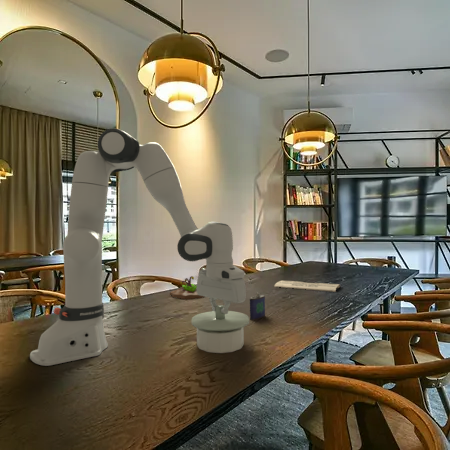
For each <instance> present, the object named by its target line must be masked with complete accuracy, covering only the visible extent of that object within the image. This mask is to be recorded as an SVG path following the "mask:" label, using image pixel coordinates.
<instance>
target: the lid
mask: <svg viewBox="0 0 450 450" xmlns="http://www.w3.org/2000/svg"><path fill="white" fill-rule="evenodd" d="M224 305H225V304H224ZM224 305H223V304H217V306H215V312H214V311H212V310H211V311H206V312H201V313H198V314H195V315H193V316H192V318H191V325H192V326H193V327H194V328H196V329H197V328H199V329H203V330H209V331H227V330H234V329H239V328H242V327H244V328H245V327H246V326H248V325H249V323H250V316H248V315H247V314H246V313H242V312H239V311H233V310H228V314H222V313H221V308H223V307H224Z"/></svg>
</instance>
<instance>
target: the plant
mask: <svg viewBox="0 0 450 450" xmlns="http://www.w3.org/2000/svg"><path fill="white" fill-rule="evenodd" d="M194 279H195V277H194V276H193V275H191V276H190V277H189V278H188V277H186V278H184V280H182V281H180V285H181V287H179V288H177V289H176V290H172V291H170V292H169V296H170V295H172V296H171V297H172V298H173V297H177V298H176V299H180V298H181V300H195V298H197V299H203V298H205V296H200V295H198V294H197V284H195V283H192V280H194ZM183 283H185V284H183ZM202 297H203V298H202Z"/></svg>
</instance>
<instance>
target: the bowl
mask: <svg viewBox="0 0 450 450" xmlns="http://www.w3.org/2000/svg"><path fill="white" fill-rule="evenodd" d="M244 328H245V326H244V327H242V328H239V329H234V330H227V331H209V330H203V329H199V328H196V346H197V348H198V349H199V350H201V351H204V352H207V353H214V354H215V353H216V354H225V353H233V352H235V351H238V350H241V349H242V348H243V346H244V343H245V339H244V338H245V336H244V332H245V331H244V330H245V329H244ZM218 332H222V333H218Z"/></svg>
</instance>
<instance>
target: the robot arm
mask: <svg viewBox="0 0 450 450" xmlns="http://www.w3.org/2000/svg"><path fill="white" fill-rule="evenodd" d="M97 149H98V150H86V151H83V152H81V153H80V154H79V155H78V157H77V160H76V163H75V165H74V169H73V174H72V178H71V179H72V180H71V187H70V188H71V189H70V196H69V197H70V198H69V205H68V224H67V226H68V227H67V232H66V233H67V235H66V237H65V238H64V240H63V243H62V244H63V246H62V248H63V249H62V250H63V251H62V252H63V254H62V255H63V266H64V267H63V270H64V283H65V284H64V289H65V290H64V291H65V292H64V293H65V295H64V296H65V298H64V300H65V305H64V306H63V307H62V308H60V307H55V308H54V309H53V313H54V315H56V316H57V315H58V316H59V317H58V320H57V321H55V322H54V323H53V324H52V325H50V327H48V328H47V329H46V330H45V331H44V332H42V333H41V335H40V337H39V340H38V347H37V349H35V350H34V349H33V350H32V351H31V352H30V354H29V360H30V361H32V362H33V363H34V364H36V365H40V366H45V367H47V366H48V367H50V366H53V365H58V364H62V363H63V364H64V363H67V362H71V361H72V362H74V361H78V360H81V359H88V358H91V357H97V356H100V355H101V354H102V352H103V351H104V350H106V349H107V347H108V346H109V344H108V341H107V337H106V333H105V327H104V317H105V316H104V315H105V308H104V307H105V306H104V302H103V245H102V244H103V237H104V236H103V235H104V227H105V225H104V224H105V218H106V211H107V210H106V209H107V199H108V193H109V183H110V176H111V174H112V173H118V172H124V171H130V170H132V169H134V168H135V169H137V171H138V172H139V174H140V176H141V178H142V180H143V183H144V184H145V187H146V189H147V190H148V192H149V193H150V195H151V196H152V197H153V199H154V200H155V201H156V202H157V203H158V204H159V205H161V207H163V208H164V209H165V210H166V211H167V212H168V213H169V215H170V216H171V218H172V221H173V223H174V224H175V226H176V229H177V231H178V233H179V234H180V238H179V240H178V242H177V248H176V249H177V252H178V255H179V256H180V257H181V258H182V259H183V260H184V261H188V262H197V261H200V260H205V261H206V262H205V264H206V268H201V269H200V270H199V271H198V277H197V281H196V286H197V294H198V295H200V296H205V297H206V298H209V300H208V301H209V303H210V306H211V311H214V312H215V306H217V305H218V304H217V300H220V301H222V302H223V303H222V305H223V304H224V307H223V308H221V313H222V314H228V311H229V308H230V306H231V303H233V304H241V303H244V302H245V301H246V298H247V288H246V286H247V285H246V281H245V279H244V278H245V277H246V273H245V270H242V269H241V268H239V267H238V266H236V265H234V260H233V256H232V255H233V251H234V245H233V244H234V241H233V232H232V228H231V227H230V225H228V224H227V223H222V222H219V221H218V222H217V221H208V223H206V224H205V225H203V226H202V227H200V228H198V227H197V225H196V224H195V221H194V219H193V217H192V214H190V210H189V209H188V206H187V204H186V201H185V196H184V193H183V188H182V185H181V184H182V183H181V181H180V178H179V175H178V173H177V171H176V168H175V165H174V164H173V162H172V160H171V158H170V157H169V155H168V154H167V152H166V151H165V150H164V148H163V146H162V145H160V144H159V143H158V142H155V141H154V142H146V143H144V144H140V142H139V141H138V140H137V139H136V138H134V137H133V136H132V135H130V134H129V133H128V132H125V131H124V130H122V129H119V128H109V129H105V130H104V131H103V132H102V133H100V135H99V137H98V140H97ZM205 297H204V298H205Z"/></svg>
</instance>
